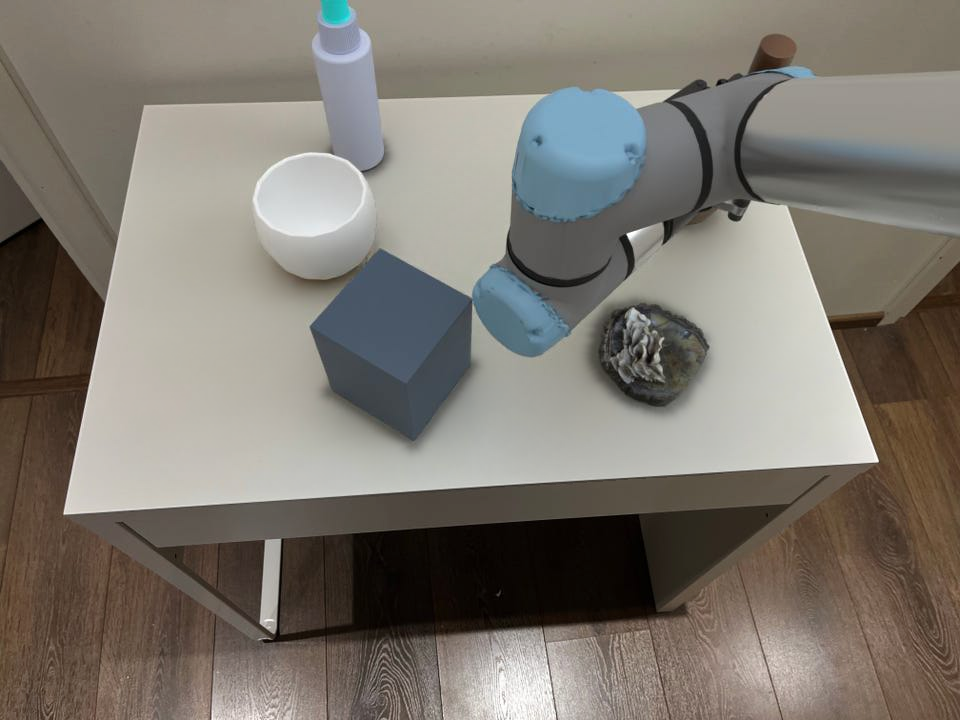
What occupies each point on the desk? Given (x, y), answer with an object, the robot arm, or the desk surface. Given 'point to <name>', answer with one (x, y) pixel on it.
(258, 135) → the desk surface
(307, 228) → the cup
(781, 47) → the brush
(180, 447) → the desk surface
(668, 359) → the grey rough lump
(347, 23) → the spray bottle
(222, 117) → the desk surface
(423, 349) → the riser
